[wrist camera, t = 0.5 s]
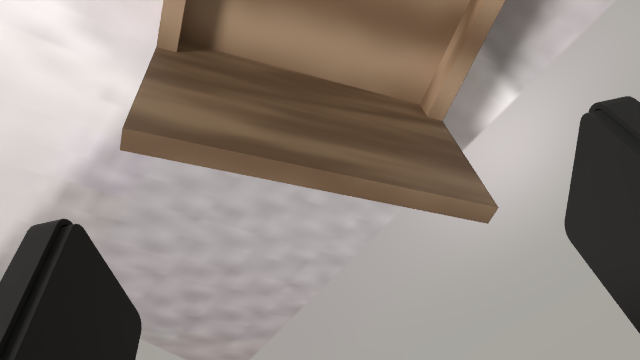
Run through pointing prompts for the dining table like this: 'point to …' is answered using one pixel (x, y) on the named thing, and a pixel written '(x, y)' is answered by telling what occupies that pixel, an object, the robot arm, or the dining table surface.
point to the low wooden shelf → (318, 95)
